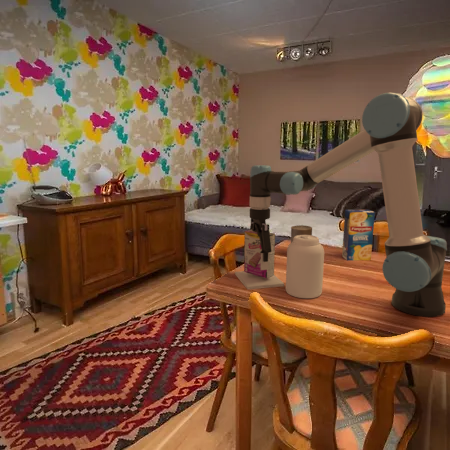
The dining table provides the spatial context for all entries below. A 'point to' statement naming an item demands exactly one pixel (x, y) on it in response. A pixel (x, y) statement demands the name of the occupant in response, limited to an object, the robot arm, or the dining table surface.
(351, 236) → the beverage box
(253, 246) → the candy bar box
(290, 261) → the cream jar
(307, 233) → the pillar candle
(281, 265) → the dining table surface
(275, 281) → the grey mat
